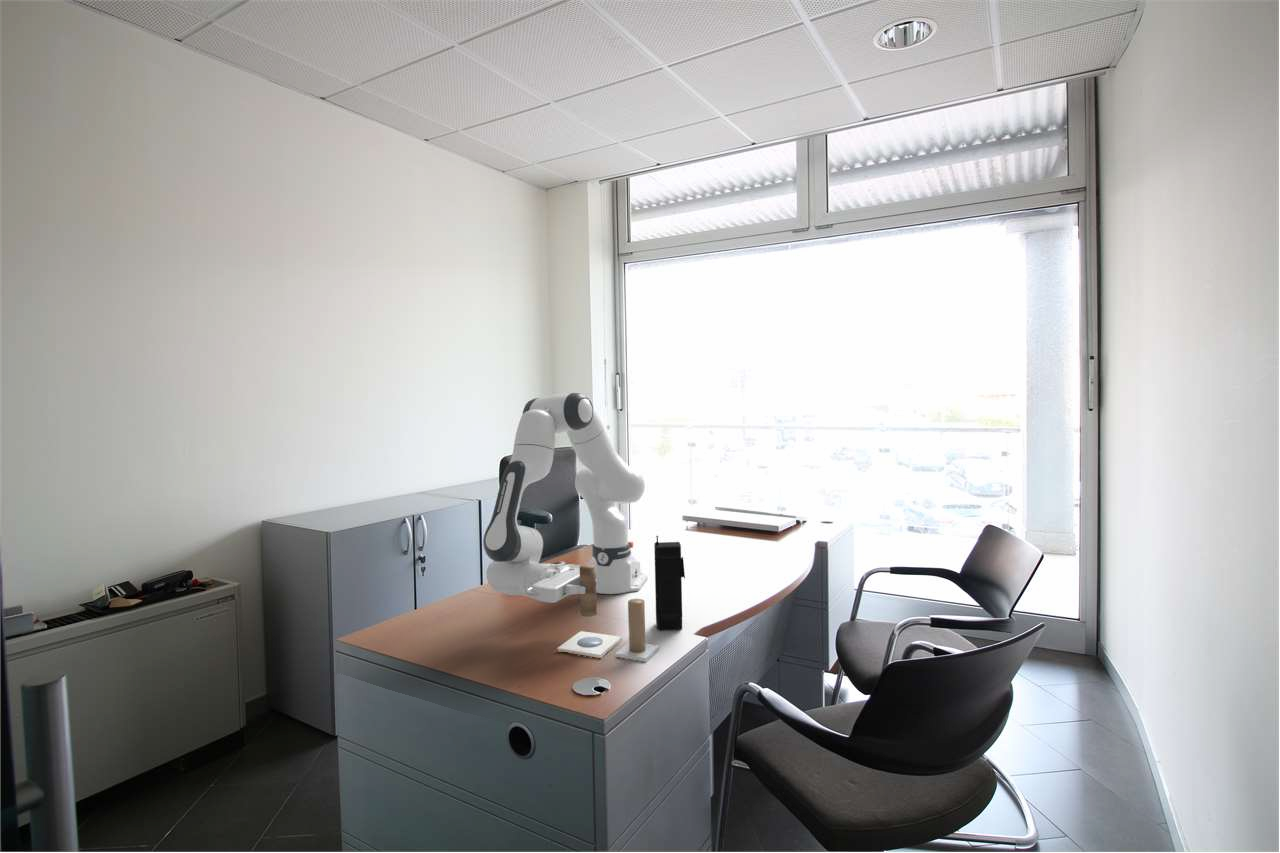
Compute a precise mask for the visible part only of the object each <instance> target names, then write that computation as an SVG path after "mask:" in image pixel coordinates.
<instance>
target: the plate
mask: <svg viewBox="0 0 1280 853" xmlns="http://www.w3.org/2000/svg"><path fill="white" fill-rule="evenodd" d="M620 641H621V642H623V637H622V636H618V635H610V634H603V633H598V632H588V631H582V630H581V631H578V632H577V633H576V634H575V635H573V636H572V637H570V638H569V639H568V640H566V641H565V642H564V643H562V644H561V645H560V646H558V647H557V649H556V650H563V651H569V652H575V653H579V654H585V655H590V656H595V657H602V656H603V655H604V654H605V653H607V652H608V651H609V650H611V649H612V648H613V647H614V646H615V645H617V644H618V643H619V642H620ZM621 642H620V643H621ZM620 643H619V644H620ZM619 644H618V645H619ZM618 645H617V646H618ZM615 647H616V646H615ZM615 647H614V648H615ZM614 648H613V649H614ZM613 649H612V650H613ZM612 650H611V651H612ZM609 652H610V651H609ZM609 652H608V653H609ZM608 653H607V654H608ZM602 658H603V657H602Z"/></svg>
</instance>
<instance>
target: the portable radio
mask: <svg viewBox="0 0 1280 853" xmlns="http://www.w3.org/2000/svg"><path fill="white" fill-rule="evenodd" d="M655 537H656V542H654V547H653V548H654V583H655V584H654V588H655V591H654V592H655V623H656V624H655V625H656V629H658V630H659V631H672V630H673V631H675V630H676V631H677V630H678V631H679V630H682V629H683V595H682V594H683V591H682V589H683V588H682V587H683V586H682V585H683V584H682V582H683V581H682V578H683V579H686V575H685V564H684V563H685V562H684V557H683V556H682V545H681V542H680V541H670V542H669V541H668V542H667V541H666V542H665V541H664V542H659V535H656V536H655Z"/></svg>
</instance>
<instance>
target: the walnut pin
mask: <svg viewBox="0 0 1280 853" xmlns="http://www.w3.org/2000/svg"><path fill="white" fill-rule="evenodd" d="M579 566H580V567H579V568H580V585H586V586H587V592H586V593H585V594H579V597H580V598H579V602H580V603H579V604H580V616H582V617H585V618H586V617H588V618H589V617H594V616H596V615H597V614H598V612H597V609H598V608H597V606H598V605H597V593H596V566H595V565H589V564H583V565H579Z"/></svg>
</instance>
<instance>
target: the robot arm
mask: <svg viewBox="0 0 1280 853" xmlns="http://www.w3.org/2000/svg"><path fill="white" fill-rule="evenodd" d="M562 432H564V433H565V432H566V435H567V437H568V439H569V441H570V443H571V445H572V447H573V450H574V452H575V454H576V456H577V459H578V461H579V462H580V463H581V465H583V466H584V467H583V468H582V469H581V468H580V470H578V472H577V473H576V475H575V479H574V488H575V490H576V492H577V493H578V495H579V496H580V497H581V498H582V499H583V501H584V502H585V505H586V506H587V509H588V512H589V514H590V518H591V523H592V537H593V538H592V539H593V544H592V546H591V547H592V548H591V553H592V554H591V556H592V558H591V560H590V561H589V564H588V565H595V566H596V594H602V595H603V594H604V595H614V594H615V595H616V594H625V593H629V592H630V593H631V592H637V591H640V590H641V588H642V587H643V585H644V584H645V582H646V581H647V580H648V578H649V577H648V575H647V574H645V573H641V563H640V560H638V559H637V558H636V557H635V556H634V555H633V554H632V550H631V549H632V548H634V542H633V541H629V535H628V534H629V532H628V530H629V529H628V526H629V525H628V520H627V518H626V516H625V515H624V514H623V513H622V512H621V511H620V510H619V507H618V505H617V504H623V505H624V504H631V503H637V502H638V501H640V500H641V498H642V496H643V495H644V493H645V480H644V477H643V476H642V475H641V473H639V472H638V471H636V470H634V469H633V468H632V467H631V466H629V464H628V463H626V461H624V459H623V458H622V457H621V456H620V454H619V453H618V452H617V451H616V449H615V448H614V446H613V445H612V443H611V441H610V439H609V436H608V434H607V432H606V429H605V428H604V425H603V423H602V420H601V419H600V417H599V415H598V413H597V412H596V410H595V408H594V405H593V403H592V401H591V400H590V398H588V396H586V395H585V394H583V393H579V392H572V393H555V394H552V395H551V394H550V395H547V396H546V395H545V396H543V397H540V396H539V397H535V398H533V399H531V400H528V401H527V402H526V403H525V405H524V408H523V410H522V415H521V416H520V420H519V422H518V425H517V428H516V433H515V437H514V443H513V449H512V455H511V459H510V460H509V461H510V462H509V463H508V464H507V466H506V467H505V469H504V471H503V474H502V477H501V480H500V484H499V488H498V492H497V496H496V500H495V504H494V508H493V513H492V515H491V519H490V521H489V524H488V526H487V528H486V529H485V533H484V535H483V540H482V541H483V550H484V552H485V554H486V555H487V557H488V558H489V559H491V560H492V561H491V562H490V563H489V564H488V566H487V568H486V581H487V583H488V585H489V587H490V588H491V589H492V590H493V591H496V592H498V593H500V594H504V595H509V596H517V597H518V596H526V597H527V598H532V599H533V600H535V601H539V602H544V603H550V604H553V603H557V602H559V601H560V600H562V599H564V598H566V597H567V596H570V595H576V594H577V595H578V594H579V595H580V594H585V593H586V592H587V586H586V585H580V568H579V567H580V566H581V565H579V564H569V563H568V564H566V562H565V561H554V562H549V563H548V562H547V563H546V562H544V563H543V562H542V563H540V561H541V559H542V555H543V550H544V544H545V543H544V537H543V535H542V534H541V533H540V531H539V530H537V529H536V528H534V527H529V526H527V525H526V526H525V525H520V524H518V521H517V520H518V519H517V518H518V515H519V510H520V506H521V501H522V497H523V495H524V494H523V493H524V491H525V489H526V488H527V487H528V486H529V485H530V484H532V483H535V482H538V481H541V480H542V479H543V478H546V477H547V475H548V474H549V473H550V471H551V469H552V466H553V462H554V455H555V446H556V443H555V441H556V434H559V433H562Z"/></svg>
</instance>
